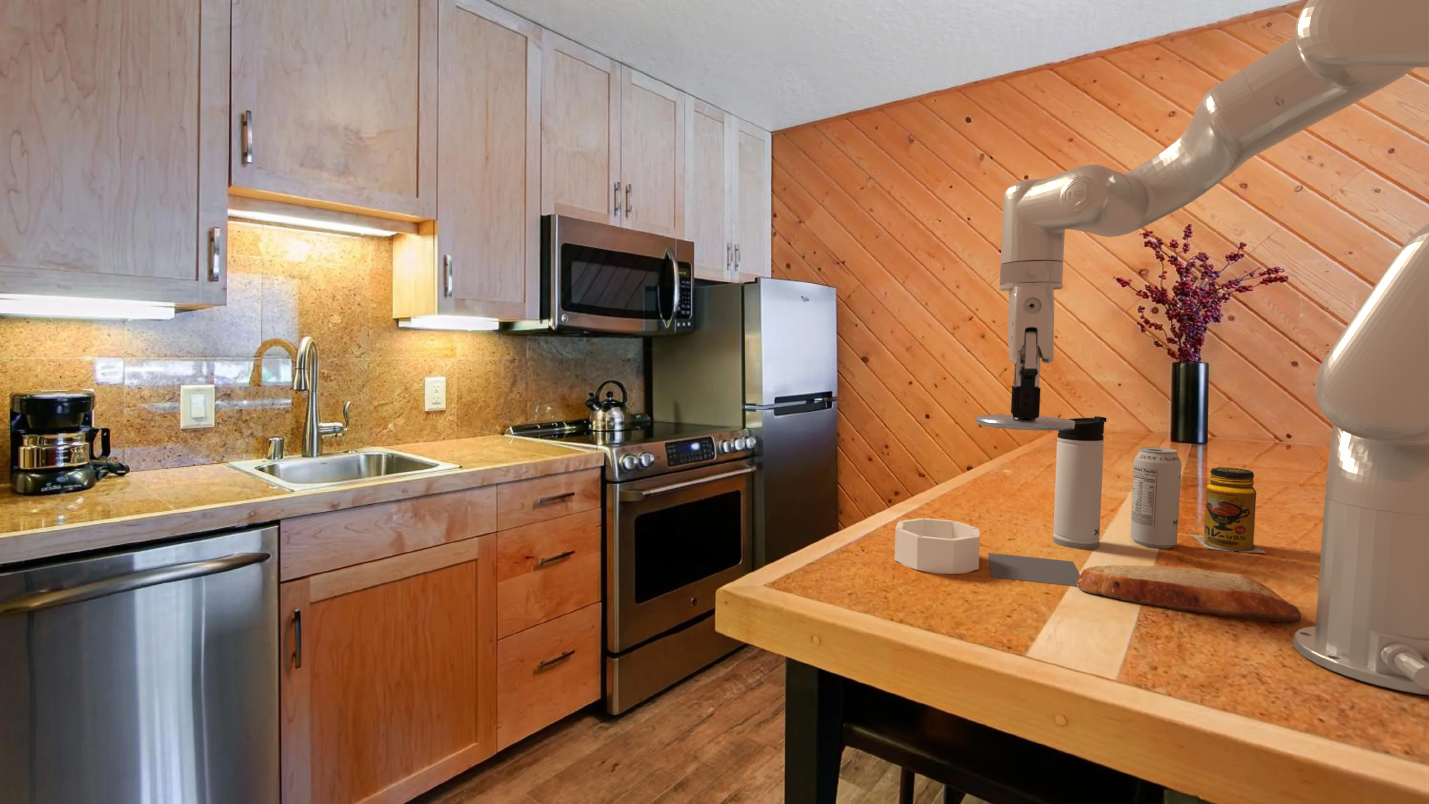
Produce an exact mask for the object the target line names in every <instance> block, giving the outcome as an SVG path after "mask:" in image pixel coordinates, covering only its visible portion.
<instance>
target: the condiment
mask: <svg viewBox="0 0 1429 804" xmlns="http://www.w3.org/2000/svg"><path fill="white" fill-rule="evenodd" d="M1254 478H1255V473H1254V471H1252V470H1249V469H1245V468H1236V467H1227V466H1226V467H1220V466H1219V467H1213V468H1211V469H1210V478H1209V481H1210V483H1209V484H1208V485H1207V487H1206V490H1205V491H1206V493H1205V494H1206V495H1205V509H1204V511H1205V513H1204V522H1203V523H1204V525H1203V527H1204V531H1203V532H1204V534H1203V535H1199V534H1198V535H1197V534H1191V536H1192V538H1194V539H1195V540H1197V541H1198V542H1199V544H1201V545H1202V546H1203V547H1205V548H1206V549H1209V550H1219V551H1224V552H1225V551H1226V552H1234V551H1239V552H1240V553H1257V554H1267V552H1266V551H1264V550H1262V549H1261V548H1259V547H1258V546H1256V545H1255V540H1254V539H1255V526H1256V525H1255V522H1256V504H1257V503H1256V502H1257V490H1256V489H1255V488H1254V484H1255V481H1254ZM1205 544H1206V545H1205ZM1230 550H1231V551H1230ZM1239 552H1238V553H1239Z"/></svg>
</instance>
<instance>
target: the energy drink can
mask: <svg viewBox="0 0 1429 804" xmlns="http://www.w3.org/2000/svg"><path fill="white" fill-rule="evenodd" d="M1138 450H1139V451H1138V453H1137V454H1136V456H1135V457H1134V460H1133V474H1132V475H1133V477H1132V494H1131V495H1132V498H1131V513H1130V514H1131V517H1130V536H1129V537H1130V539H1131V540H1133V542H1134V543H1135V544H1137V545H1140V546H1143V547H1149V548H1155V549H1171V548H1173V547H1174V546H1175V545H1177V544H1178V532H1179V528H1178V527H1179V515H1180V514H1179V513H1180V512H1179V511H1180V495H1181V477H1182V461H1181V459H1180V457H1179V456H1178V450H1176V449H1173V448H1165V447H1150V446H1149V447H1145V446H1143V447H1140V448H1139V449H1138Z"/></svg>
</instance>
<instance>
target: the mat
mask: <svg viewBox="0 0 1429 804" xmlns="http://www.w3.org/2000/svg"><path fill="white" fill-rule="evenodd" d="M988 563H989V573H990V578H997V579H1006V580H1013V581H1022V582H1031V583H1040V584H1049V585H1058V586H1067V587H1076V588H1078V586H1077V585H1076V582H1077V581H1078V579H1079V577H1080V575H1081V574H1080V573H1079V570H1077V567H1076V565H1075V563H1074V561H1072V560H1062V559H1054V558H1042V557H1033V556H1023V555H1022V556H1021V555H1013V554H1012V555H1011V554H1003V553H994V552H993V553H992V552H988Z"/></svg>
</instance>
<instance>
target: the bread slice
mask: <svg viewBox="0 0 1429 804" xmlns="http://www.w3.org/2000/svg"><path fill="white" fill-rule="evenodd" d="M1079 575H1080V577H1079V579H1078V581H1077V582H1076V585H1077V586H1078V587H1077V588H1078V589H1079V590H1080V591H1083V592H1085V593H1089V594H1093V595H1098V596H1099V595H1100V596H1103V597H1107V598H1112V599H1116V600H1119V601H1125V602H1132V603H1135V604H1141V605H1142V604H1143V605H1150V606H1155V607H1159V608H1160V607H1161V608H1166V609H1167V608H1168V609H1172V610H1177V611H1184V612H1192V613H1197V614H1203V615H1204V614H1205V615H1206V614H1208V615H1213V616H1218V617H1231V618H1237V619H1241V620H1242V619H1243V620H1257V621H1267V622H1291V621H1299V620H1301V619H1302V613H1301V611H1300V609H1298V607H1297V606H1295V605H1294V604H1292V603H1289V602H1288V601H1287V600H1286V599H1284V598H1283V597H1282V596H1280V595H1279V594H1278V593H1276V592H1275V591H1274V590H1272V589H1271V588H1269V587H1268V586H1266V585H1265V584H1263V583H1261V582H1259V581H1258V580H1256V579H1254V578H1252V577H1250V576H1248V575H1246V574H1241V573H1232V572H1230V573H1229V572H1223V571H1222V572H1220V571H1214V570H1208V569H1204V568H1192V567H1191V568H1190V567H1175V566H1168V565H1167V566H1166V565H1165V566H1164V565H1148V566H1147V565H1146V566H1145V565H1144V566H1143V565H1125V564H1123V565H1119V564H1118V565H1116V564H1112V565H1110V564H1109V565H1104V566H1102V565H1097V566H1090V567H1087V568H1085V569H1083V570H1082V571H1081V573H1080V574H1079Z"/></svg>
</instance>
